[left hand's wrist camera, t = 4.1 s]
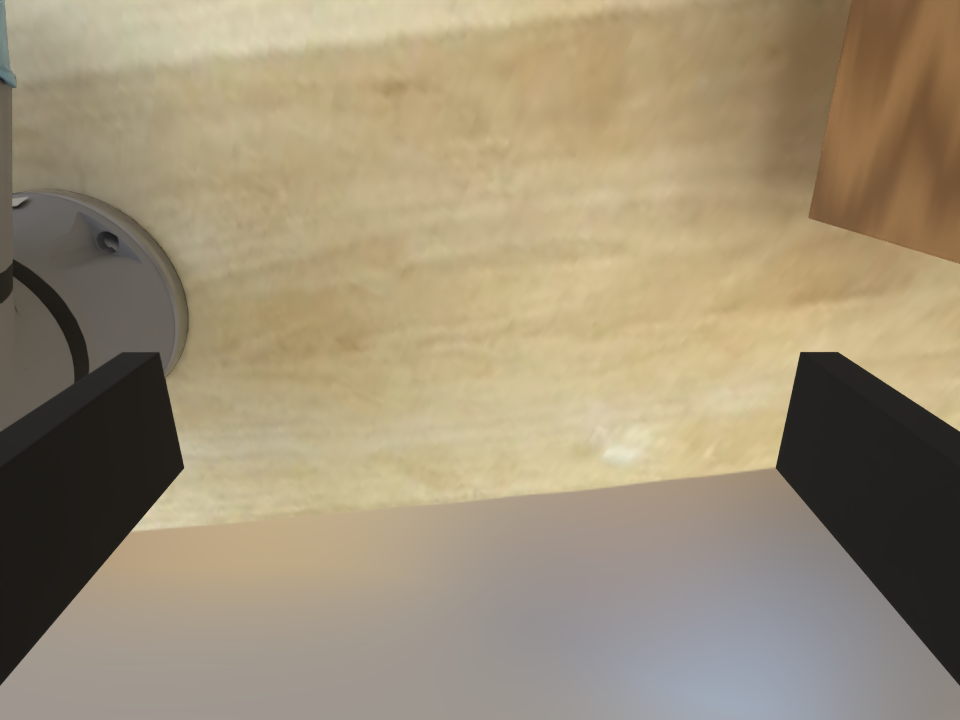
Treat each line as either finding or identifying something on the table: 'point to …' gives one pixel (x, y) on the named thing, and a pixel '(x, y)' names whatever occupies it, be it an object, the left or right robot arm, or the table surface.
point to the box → (896, 127)
